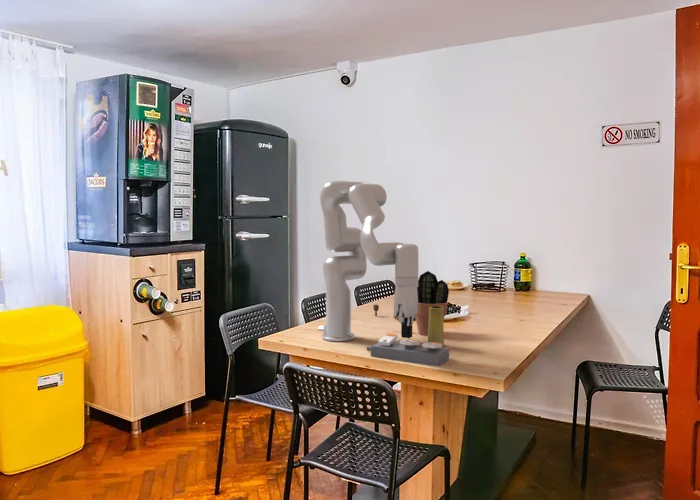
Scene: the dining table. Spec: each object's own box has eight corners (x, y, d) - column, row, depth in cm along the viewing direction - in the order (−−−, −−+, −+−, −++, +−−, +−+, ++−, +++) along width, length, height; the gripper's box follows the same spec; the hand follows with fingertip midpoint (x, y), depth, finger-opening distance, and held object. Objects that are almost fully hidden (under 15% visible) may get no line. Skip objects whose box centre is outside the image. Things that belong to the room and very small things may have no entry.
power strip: (360, 354, 184) (360, 343, 184) (373, 348, 193) (373, 337, 192) (438, 366, 170) (438, 353, 170) (449, 358, 179) (449, 346, 178)
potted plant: (420, 338, 207) (421, 273, 205) (407, 331, 220) (407, 270, 218) (453, 336, 210) (453, 272, 208) (438, 329, 223) (438, 268, 222)
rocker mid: (399, 343, 178) (400, 339, 178) (408, 343, 184) (408, 339, 184) (410, 345, 176) (411, 341, 176) (419, 344, 182) (419, 340, 182)
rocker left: (378, 344, 182) (378, 340, 182) (387, 336, 188) (387, 333, 188) (389, 345, 180) (388, 342, 180) (397, 338, 186) (397, 334, 186)
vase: (442, 343, 199) (442, 305, 198) (445, 347, 193) (446, 308, 192) (425, 343, 199) (426, 305, 198) (428, 348, 193) (429, 308, 192)
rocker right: (422, 346, 174) (422, 342, 174) (430, 345, 180) (430, 341, 180) (434, 348, 172) (434, 344, 172) (441, 347, 178) (441, 343, 178)
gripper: (405, 278, 184) (405, 331, 186) (386, 283, 171) (386, 340, 173) (426, 280, 181) (426, 334, 182) (408, 285, 168) (408, 343, 169)
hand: (406, 337), depth 177 cm, fingers closed
